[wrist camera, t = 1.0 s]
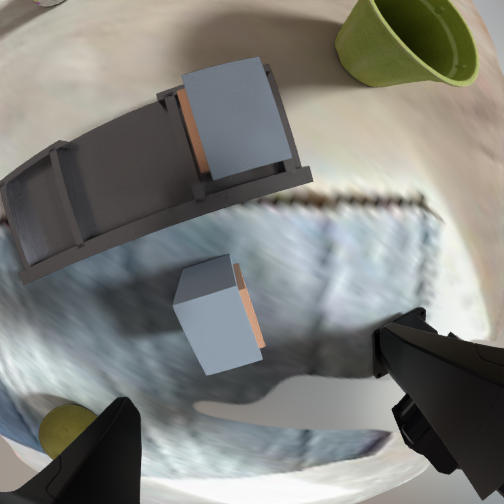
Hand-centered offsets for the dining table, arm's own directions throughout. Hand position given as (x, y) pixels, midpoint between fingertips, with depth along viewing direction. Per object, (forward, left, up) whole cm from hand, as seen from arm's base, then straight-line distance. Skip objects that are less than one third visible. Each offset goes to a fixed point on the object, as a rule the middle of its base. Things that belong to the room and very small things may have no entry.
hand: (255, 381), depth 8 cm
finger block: (-2, +2, -12) cm, 12 cm away
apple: (-12, +22, -12) cm, 27 cm away
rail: (+8, +5, -12) cm, 15 cm away
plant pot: (+13, -15, -12) cm, 24 cm away
